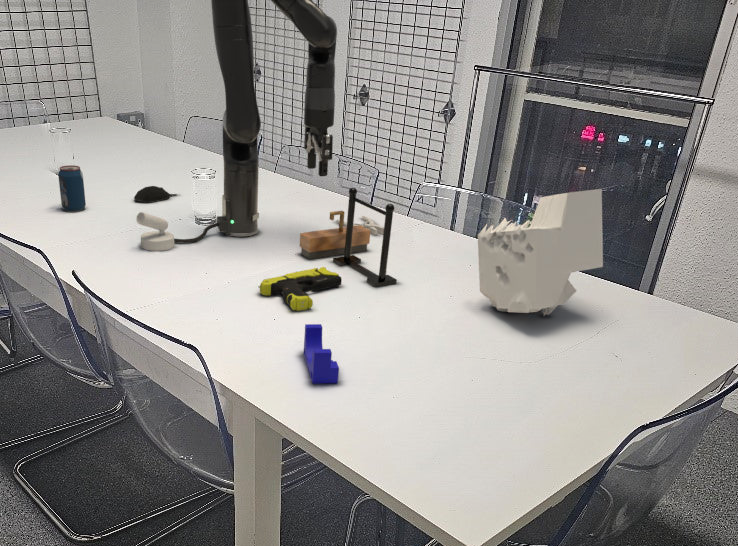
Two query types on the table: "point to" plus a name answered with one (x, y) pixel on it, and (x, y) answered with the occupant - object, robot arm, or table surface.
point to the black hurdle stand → (354, 260)
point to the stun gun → (300, 286)
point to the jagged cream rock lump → (541, 253)
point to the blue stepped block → (319, 357)
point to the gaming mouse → (152, 194)
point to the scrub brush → (333, 240)
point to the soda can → (71, 188)
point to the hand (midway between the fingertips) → (317, 172)
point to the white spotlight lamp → (155, 233)
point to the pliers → (369, 226)
